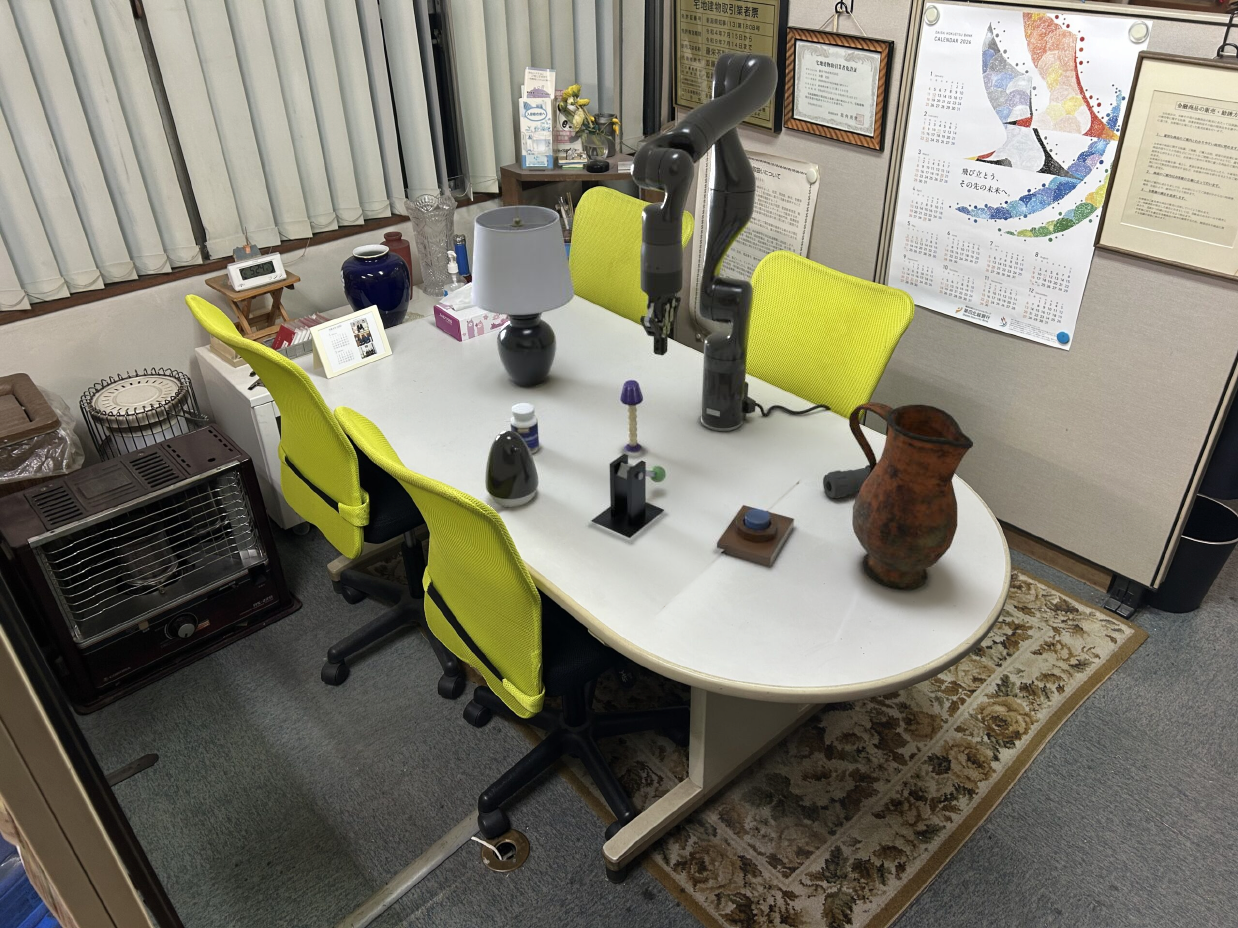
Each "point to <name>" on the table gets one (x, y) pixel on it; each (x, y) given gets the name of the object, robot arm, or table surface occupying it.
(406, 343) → the table surface
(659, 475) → the switch lever
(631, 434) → the toy lamp
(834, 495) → the flashlight
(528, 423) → the pill bottle
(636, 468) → the switch bracket
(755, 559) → the button block
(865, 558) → the pitcher
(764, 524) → the light button
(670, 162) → the robot arm
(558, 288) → the lamp
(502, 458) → the black egg-shaped dome
